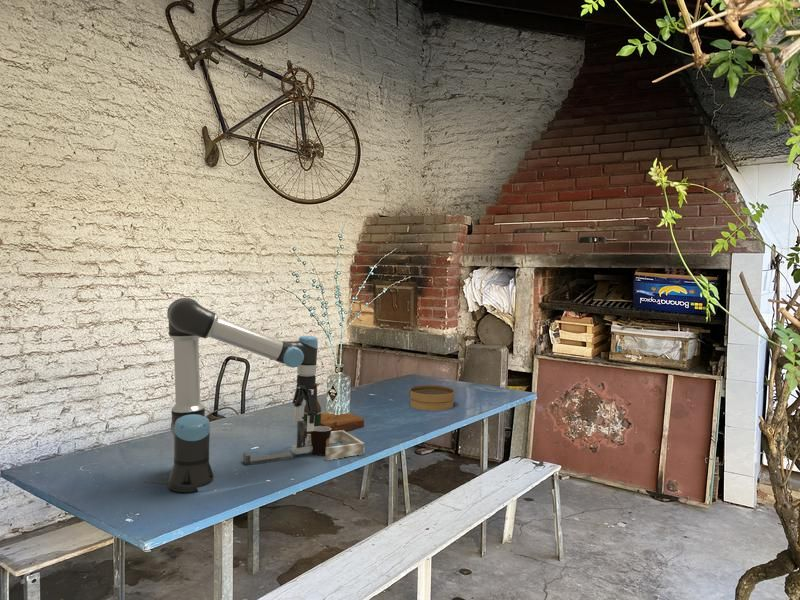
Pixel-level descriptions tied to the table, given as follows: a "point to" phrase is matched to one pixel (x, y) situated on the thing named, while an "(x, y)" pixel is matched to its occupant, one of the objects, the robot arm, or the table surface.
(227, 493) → the table surface
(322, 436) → the coffee mug
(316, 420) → the beer bottle
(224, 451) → the table surface
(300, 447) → the rod carriage
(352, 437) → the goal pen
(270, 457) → the rail
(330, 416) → the diary
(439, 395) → the sieve
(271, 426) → the table surface
